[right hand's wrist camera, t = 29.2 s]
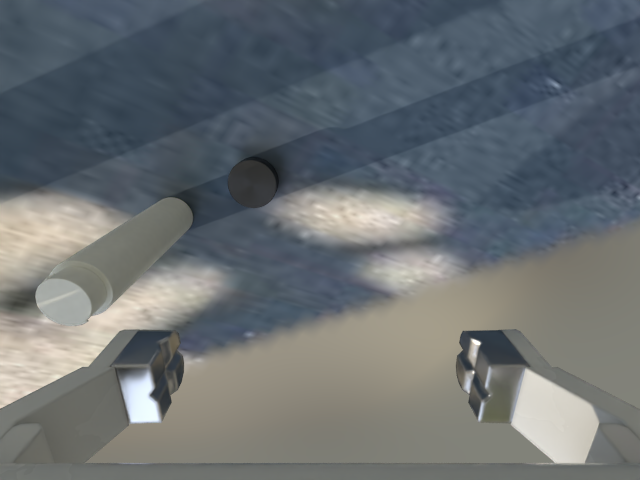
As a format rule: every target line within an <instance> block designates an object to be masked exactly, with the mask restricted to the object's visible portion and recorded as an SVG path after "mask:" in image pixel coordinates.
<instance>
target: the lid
mask: <svg viewBox="0 0 640 480" xmlns="http://www.w3.org/2000/svg"><path fill="white" fill-rule="evenodd" d="M228 188H229V191H230V193H231V195H232V197H233V198H234V199H235V200H236V201H237V202H238V203H239V204H241V205H243V206H246V207H249V208H258V207H262V206H264V205H266V204H267V203H269V202H270V201H271V200H272V198H273V197H274V195H275V193H276V190H277V188H278V176H277V173H276V171H275V169H274V167H273V166H272V165H271V164H270V163H269V162H267V161H266V160H264V159H261V158H257V157H251V158H247V159H244V160H242V161H241V162H239V163H238V164H237V165H235V166H234V167H233V169H232V170H231V172H230V174H229V177H228Z"/></svg>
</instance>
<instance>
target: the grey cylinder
mask: <svg viewBox="0 0 640 480" xmlns="http://www.w3.org/2000/svg"><path fill="white" fill-rule="evenodd" d="M192 222H193V214H192V211H191V209H190V207H189V206H188V205H187V204H186V203H185V202H184V201H182V200H180V199H178V198H174V197H168V198H164V199H162V200H160V201H159V202H157V203H156V204H154V205H152V206H151V207H149V208H148V209H146V210H144V211H143V212H141V213H140V214H138V215H136V216H135V217H133V218H132V219H130V220H128V221H127V222H125V223H124V224H122V225H121V226H119V227H117V228H116V229H114V230H113V231H111V232H109V233H108V234H106V235H105V236H103V237H101V238H100V239H98V240H97V241H95V242H93V243H92V244H90V245H89V246H87V247H85V248H84V249H82V250H81V251H79V252H77V253H76V254H74V255H73V256H71V257H69V258H68V259H66V260H65V261H63V262H61V263H60V264H58V265H57V266H56V267H55V268H54V269H53V270H52V271H51V273H50V276H48V277H47V278H46V279H45V280H44V281H43V282H42V283H41V284H40V285H39V287H38V288H37V291H36V302H37V305H38V307H39V309H40V310H41V312H42V313H43V314H44V315H45V316H46V317H47V318H49V319H50V320H52V321H54V322H56V323H58V324H61V325H66V326H78V325H83V324H85V323H86V322H88V319H89V318H90V317H91V316H94V315H98V314H100V313H103V312H104V311H106V310H107V309H108V308H109V307H110V306H111V305H112V304H113V303H114V302H115V301H116V300H117V299H118V298H119V297H120V296H121V295H122V294H123V293H124V292H125V291H126V290H127V289H128V288H129V287H130V286H131V285H132V284H133V283H134V282H135V281H136V280H137V279H138V278H139V277H140V276H141V275H142V274H144V273H145V272H146V271H147V270H148V269H149V268H150V267H151V266H152V265H153V264H154V263H155V262H156V261H157V260H158V259H159V258H160V257H161V256H162V255H163V254H164V253H165V252H166V251H167V250H168V249H169V248H170V247H171V246H172V245H173V244H174V243H175V242H176V241H177V240H178V239H179V238H180V237H181V236H182V235H183V234H184V233H185V232H186V231H187V230H188V229H189V228H190V227H191V225H192Z"/></svg>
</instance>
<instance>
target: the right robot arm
mask: <svg viewBox="0 0 640 480" xmlns="http://www.w3.org/2000/svg"><path fill="white" fill-rule="evenodd" d="M180 343H181V342H180V337H179V333H178V332H177V331H176V330H122V331H120V332H119V333H118V334H117V335H116V336H115V337H114V338H113V339H112V341H111V342H110V343H109V344H108V345H107V346H106V347H105V349H104V350H103V351H102V352H101V353H100V354H99V355H98V356H97V358H96V359H95V360H94V361H93V362H92V363H91V364H90V366H89V367H82V368H80V369H78V370H76V371H74V372H72V373H70V374H68V375H66V376H64V377H62V378H60V379H58V380H56V381H54V382H52V383H50V384H48V385H46V386H44V387H42V388H40V389H38V390H36V391H34V392H32V393H30V394H29V395H27V396H25V397H23V398H21V399H19V400H17V401H15V402H13V403H11V404H9V405H7V406H5V407H3V408H1V409H0V480H640V409H639V408H637V407H635V406H633V405H631V404H629V403H627V402H625V401H623V400H621V399H619V398H617V397H615V396H613V395H611V394H609V393H607V392H605V391H604V390H602V389H600V388H598V387H596V386H594V385H592V384H590V383H588V382H586V381H584V380H582V379H580V378H578V377H576V376H574V375H572V374H570V373H568V372H566V371H564V370H562V369H560V368H558V367H551V366H550V364H549V363H548V362H547V361H546V360H545V359H544V358H543V356H542V355H541V354H540V353H539V352H538V351H537V350H536V349H535V347H534V346H533V345H532V344H531V343H530V342H529V341H528V339H527V338H526V337H525V336H524V335H523V334H522V333H521V332H520V331H518V330H516V329H513V330H490V331H463V332H462V334H461V337H460V342H459V343H460V345H461V347H462V349H463V351H462V352H461V353H460V354H459V355H458V356H457V361H456V372H457V378H458V382H459V384H460V386H461V388H462V390H463V391H464V392H466V393H467V394H469V395H470V397H469V402H468V403H469V405H470V407H471V409H472V411H473V413H474V415H475V417H476V419H477V421H478V422H479V423H511V425H512V426H513V427H514V428H515V429H516V430H518V431H519V432H520V433H521V434H522V435H523V436H525V437H526V438H527V439H528V440H529V441H530V442H532V443H533V444H534V445H535V446H536V447H538V448H539V449H540V450H541V451H542V452H544V453H545V454H546V455H547V456H548V457H549V458H550V459H552V460H553V461H554V462H555V463H85V462H86V461H87V460H88V459H90V458H91V457H92V456H93V455H94V454H96V453H97V452H98V451H99V450H100V449H101V448H103V447H104V446H105V445H106V444H107V443H109V442H110V441H111V440H112V439H113V438H114V437H116V436H117V435H118V434H119V433H120V432H121V431H123V430H124V429H125V428H126V427H127V426H128V425H129V423H161V422H162V421H163V419H164V417H165V415H166V413H167V411H168V409H169V407H170V405H171V397H170V395H171V394H173V393H174V392H176V391H177V390H178V388H179V386H180V384H181V382H182V377H183V373H184V360H183V356H182V355H181V354H180V353H179V352H178V351H177V349H178V347H179V345H180Z"/></svg>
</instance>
